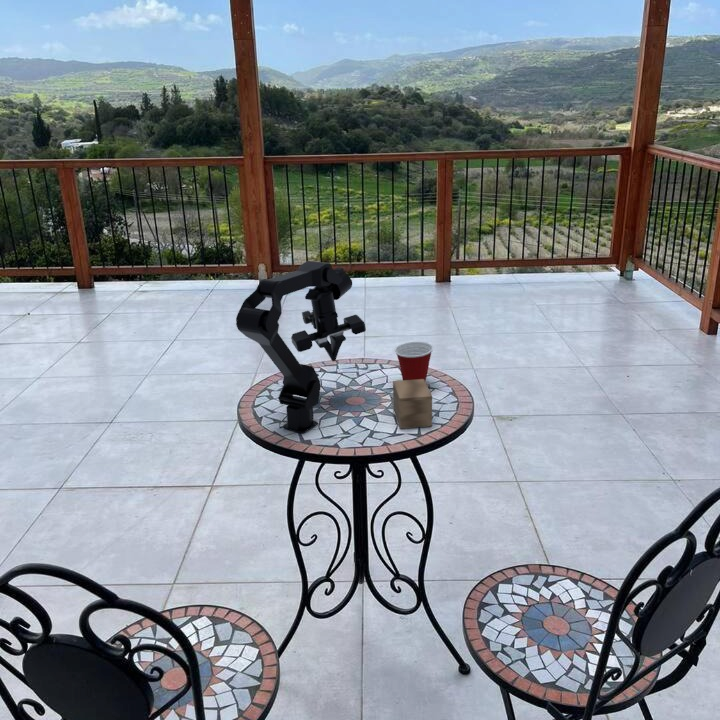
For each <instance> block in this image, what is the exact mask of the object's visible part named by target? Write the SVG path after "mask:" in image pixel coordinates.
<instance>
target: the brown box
mask: <svg viewBox="0 0 720 720" xmlns="http://www.w3.org/2000/svg"><path fill="white" fill-rule="evenodd" d="M392 390H393V391H392V393H393V394H392V396H393V397H392V400H393V401H392V403H393V405H392V408H393V409H392V410H393V413H394V415H395V418H396V422H397V424H398V427H399V429H408V428H409V429H410V428H421V427H423V428H424V427H432V426H433V395H432V393H431V391H430V389H429V387H428V384H427V383H426V382H425V381H424V379H417V380H403V379H402V380H393V381H392Z"/></svg>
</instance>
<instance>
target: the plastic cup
mask: <svg viewBox="0 0 720 720" xmlns="http://www.w3.org/2000/svg"><path fill="white" fill-rule="evenodd" d="M433 349H434V346H433V344H431V343H429V342H425V341H407V342H404V343H401V344H398V345H397V346H395V348H394V350H393V352H394V353H395V354H396V356H397V359H398V364H399V369H400V373H401V377H402V380H417V379H424V381H425V383H426V381H427V377H428V371H429V365H430V360H431V356H432V352H433Z"/></svg>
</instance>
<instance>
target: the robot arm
mask: <svg viewBox="0 0 720 720" xmlns="http://www.w3.org/2000/svg"><path fill="white" fill-rule="evenodd" d="M309 287H311V288H309ZM312 287H313V288H312ZM352 287H353V279H351V277H350V275H348V273H346V272H345V270H344V268H343V267H336V268H333V266H332V264H331V263H330V262H321V261H315V260H314V261H313V260H307V261H305V262H304V263H302V264H300V265H299V266H298V269H297V270H294V271H291V272H288V273H287V272H286V273H285V274H282V275H277V276H276V277H272V278H268V279H267V278H264V279H262V280H260V281H259V283H258V285H257V287H256V289H255V290H254V291H253V292H252V293H251V294H250V295H249V296H247V297H246V298H245V299H244V301H242V304H241V307H240V309H239V311H238V312H237V315H236V319H235V322H236V323H235V326H236V328H237V329H238V331H239V332H240V333H242V334H243V335H244V336H245V337H247V338H248V339H251V340H252V341H254V342H256V343H257V344H259V346H260V347H261V348H262V349H263V351H264V353H265V354H266V355H267V356H268V357H269V359H270V361H272V362H273V364H274V365H275V367H276V368H277V369H278V371H279V372H280V373H281V374H282V376H283V378H282V384H283V385H282V388H281V391H280V392H279V395H278V401H279V404H281V405H285V406H286V407H285V408H286V419H287V423H285V424H284V425H282V427H283V429H286V430H289V431H292V432H296V433H299V434H305V433H306V432H308V431H310V430H311V429H313V428H315V427H317V425H319V421H316V420H314V409H313V408H314V407H316V406H317V405H318V404H319V402H320V401H319V400H320V393H321V387H322V386H321V381H320V378H319V377H320V374H319V373H317V372H316V370H315V368H314V366H312V365H307V364H304V363H303V364H302V363H300V362H299V360H298V359H297V358H296V356H295V355H294V353H293V352H292V351H291V349H290V348H289V347H288V345H287V343H285V341H284V340H283V338H282V337H281V335H280V334H279V328H280V324H279V321H280V320H279V319H280V318H281V315H282V303H281V302H282V299H283V297H284V296H287V295H290V294H292V293H296V292H298V291H300V290H304V289H306V288H308V291H307V293H306V294H305V296H304V297H305V298H304V299H305V300H309V301H310V302H311V306H312V312H311V311H310V310H305V311H302V312H301V316H302V320H303V323H304V324H305V325H309V324H311V326H313V329H314V330H316V331H315V332H312V333H309V334H308V332H307V331H306V330H305V329H304V330H300V331H297V332H294V333H292V334H291V337H290V338H291V343H292V345H293V347H294V348H295V349H296V351H297V352H298V353H299V352H300V353H301V352H305V351H309V350H310V349H312V347H313V342H315V343H316V345H317V346H318V348H320V349H322V348H323V349H324V350H325V352H326V353H327V355H328V357H329V358H330V360H331V361H332V362H336V360H337V357H338V355H339V351H340V349H341V347H342V344H343V342H345V341H346V340H347V338H346V336H345V335H344V333H345V332H348V331H349V330H350V331H351V333H352V334H354V335H358V334H361V333H365V332H366V330H367V329H366V323H365V321H364V320H363V319H362V318H361V317H360V316H359V315H358V314H352V315H349V316H347V317H344V318H343V323H340V324H339V321H338V318H339V315H338V313H337V310H336V309H337V308H336V304H335V303H336V302H335V301H338V300H339V299H340V298H342V297H343V296H344V295H345V294H347V292H349V291H350V290H351V288H352ZM266 298H267V299H268V298H269V299H271V307H270V309H262V308H257V307H258V306H259V305H261V303H263V302H264V301H265V300H266ZM328 337H329V339H328Z"/></svg>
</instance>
